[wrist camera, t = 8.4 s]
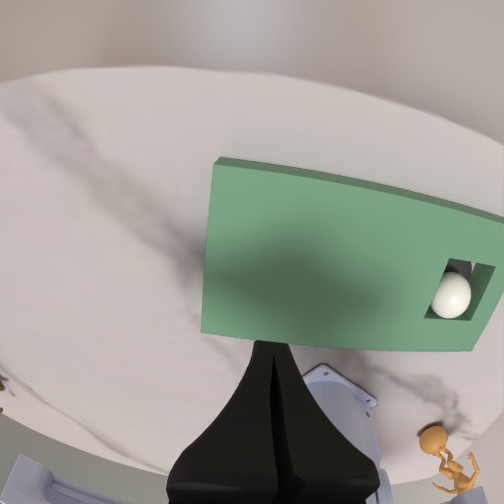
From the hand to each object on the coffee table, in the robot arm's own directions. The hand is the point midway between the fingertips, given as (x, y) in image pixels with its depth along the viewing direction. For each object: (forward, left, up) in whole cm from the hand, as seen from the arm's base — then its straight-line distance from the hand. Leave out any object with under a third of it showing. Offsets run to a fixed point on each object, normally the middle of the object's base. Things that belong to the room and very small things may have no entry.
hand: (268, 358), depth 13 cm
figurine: (-35, +3, -11) cm, 37 cm away
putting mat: (-7, -5, -10) cm, 13 cm away
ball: (-12, -8, -8) cm, 17 cm away
